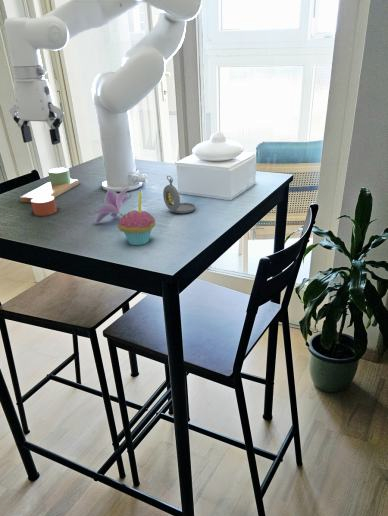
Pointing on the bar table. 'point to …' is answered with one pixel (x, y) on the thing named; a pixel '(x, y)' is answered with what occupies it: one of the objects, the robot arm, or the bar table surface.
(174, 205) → the pocket watch
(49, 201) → the terracotta disc
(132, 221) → the cupcake
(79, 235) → the bar table surface
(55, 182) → the sage disc
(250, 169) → the butter dish
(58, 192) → the board
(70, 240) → the bar table surface
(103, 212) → the lily
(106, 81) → the robot arm
